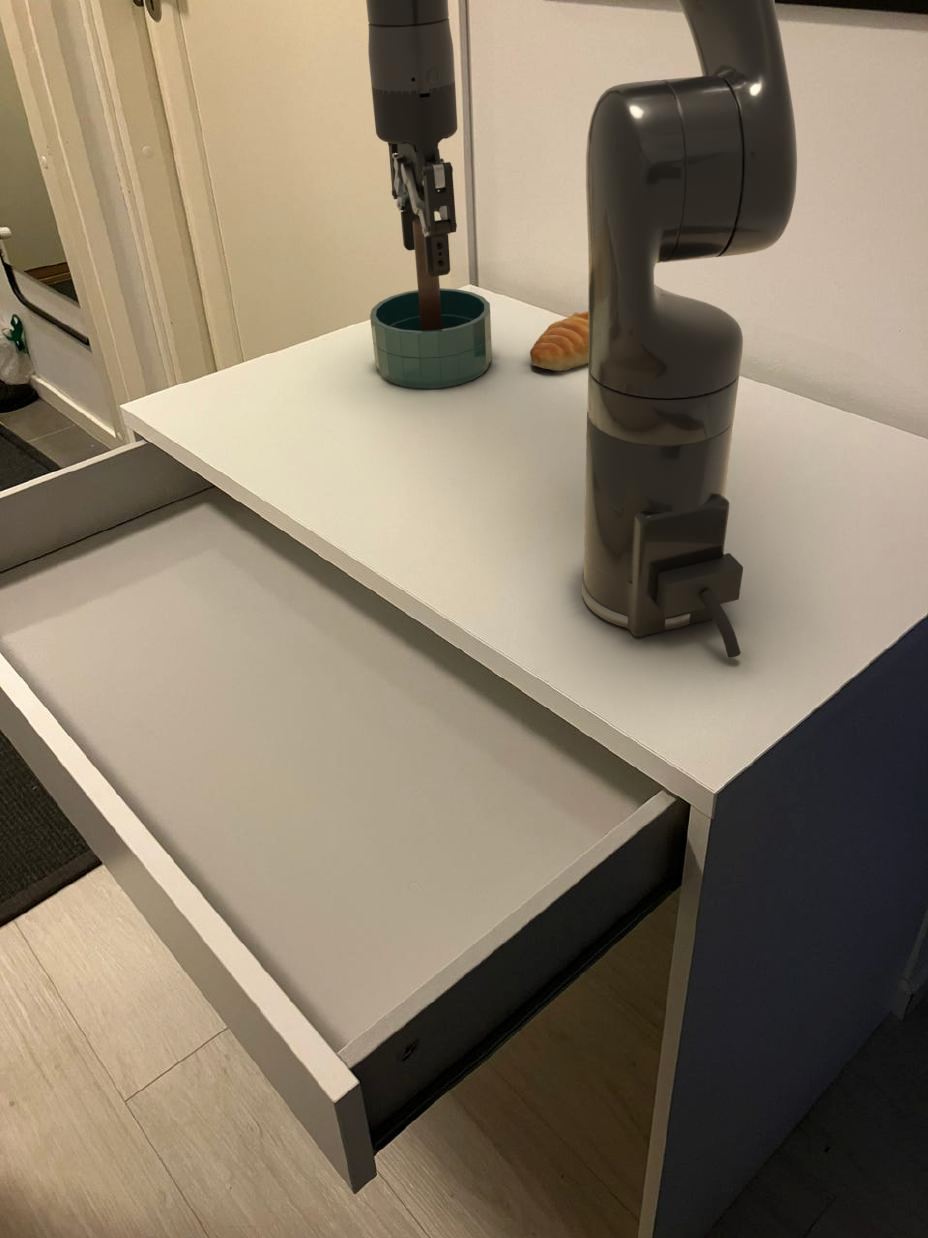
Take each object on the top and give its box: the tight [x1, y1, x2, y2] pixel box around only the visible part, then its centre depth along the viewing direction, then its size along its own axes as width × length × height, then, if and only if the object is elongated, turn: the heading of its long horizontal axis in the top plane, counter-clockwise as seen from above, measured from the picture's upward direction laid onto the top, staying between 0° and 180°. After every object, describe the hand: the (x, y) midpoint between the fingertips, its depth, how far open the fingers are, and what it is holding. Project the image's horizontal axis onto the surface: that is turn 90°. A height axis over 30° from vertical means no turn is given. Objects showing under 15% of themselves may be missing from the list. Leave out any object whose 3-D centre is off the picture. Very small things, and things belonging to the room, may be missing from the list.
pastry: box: [529, 311, 589, 373], centre depth 106 cm, size 9×7×4 cm
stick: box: [413, 218, 443, 331], centre depth 102 cm, size 4×4×14 cm
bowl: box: [369, 287, 493, 390], centre depth 105 cm, size 12×12×6 cm
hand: (426, 261), depth 100 cm, fingers open, 8 cm apart
